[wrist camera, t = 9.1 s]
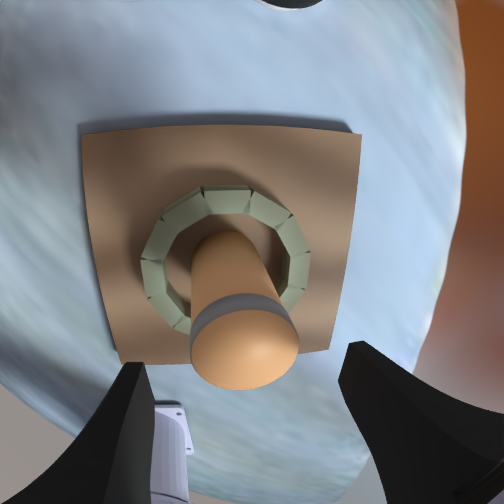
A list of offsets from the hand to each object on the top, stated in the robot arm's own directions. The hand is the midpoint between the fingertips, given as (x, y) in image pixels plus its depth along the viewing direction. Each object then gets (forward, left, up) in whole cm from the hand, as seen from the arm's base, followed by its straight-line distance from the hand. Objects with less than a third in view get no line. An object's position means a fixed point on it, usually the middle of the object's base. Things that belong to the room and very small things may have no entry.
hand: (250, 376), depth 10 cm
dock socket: (0, 0, -10) cm, 10 cm away
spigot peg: (0, 0, -9) cm, 9 cm away
